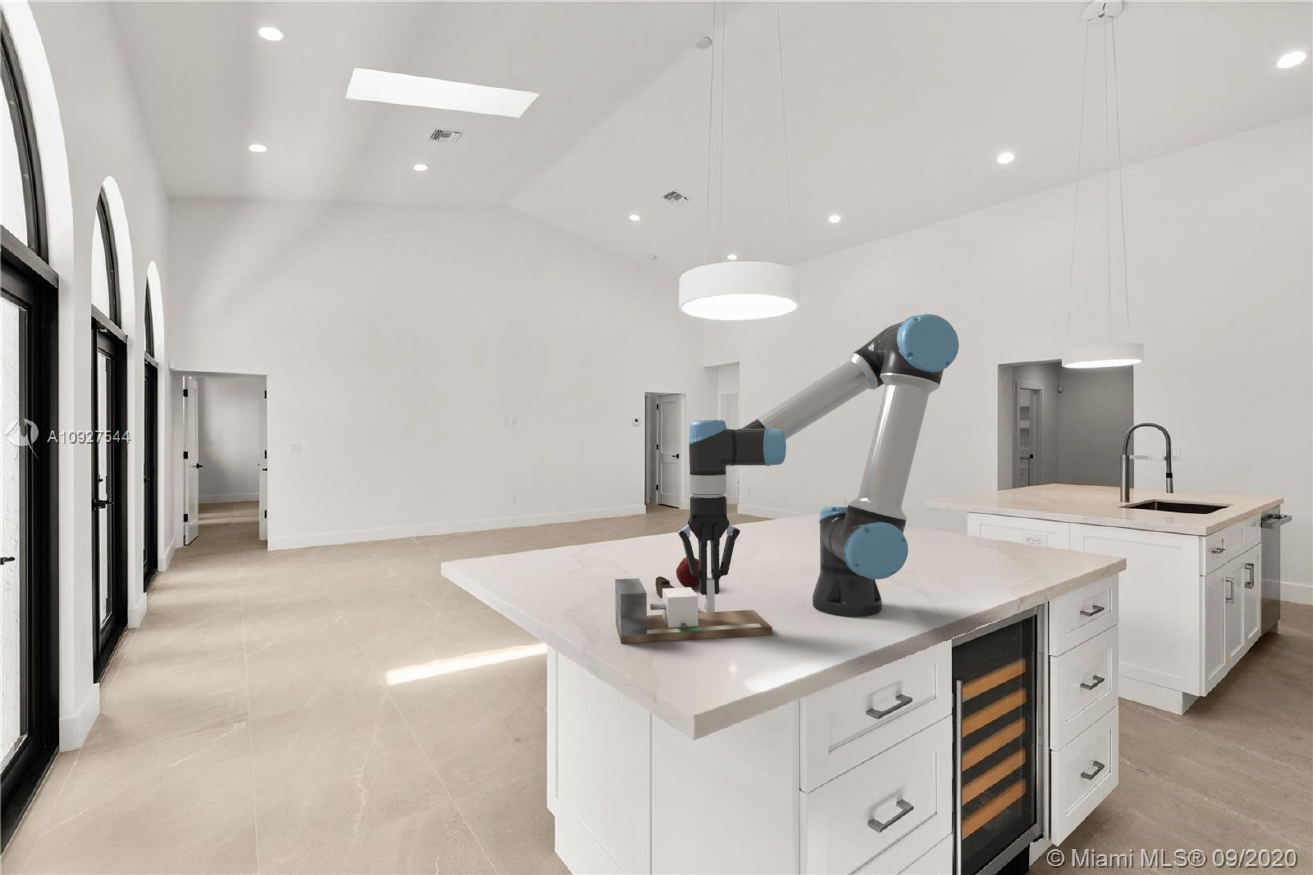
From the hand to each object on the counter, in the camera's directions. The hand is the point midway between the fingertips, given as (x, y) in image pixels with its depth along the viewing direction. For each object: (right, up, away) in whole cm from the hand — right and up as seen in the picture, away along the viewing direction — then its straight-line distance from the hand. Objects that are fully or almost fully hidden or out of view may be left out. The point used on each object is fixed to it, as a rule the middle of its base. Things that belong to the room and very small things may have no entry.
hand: (709, 610), depth 128 cm
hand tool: (-8, -4, +20) cm, 22 cm away
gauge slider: (-7, -2, -2) cm, 8 cm away
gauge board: (-4, -4, 0) cm, 5 cm away
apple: (-2, -4, +33) cm, 33 cm away
